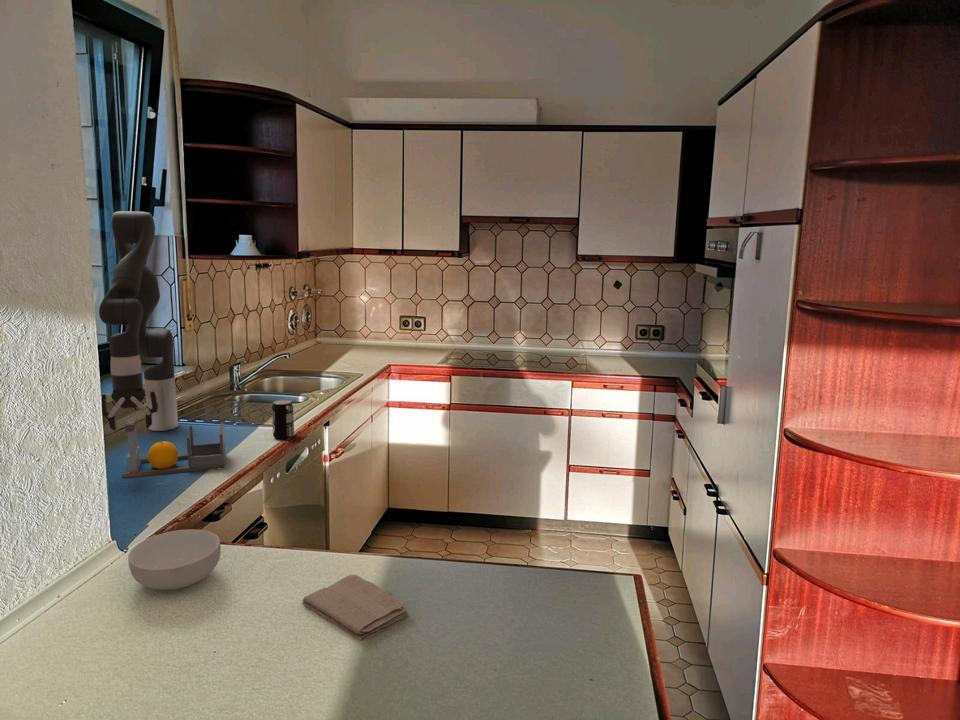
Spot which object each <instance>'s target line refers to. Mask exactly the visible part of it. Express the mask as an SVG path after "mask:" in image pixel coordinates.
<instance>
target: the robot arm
mask: <svg viewBox="0 0 960 720" xmlns="http://www.w3.org/2000/svg"><path fill="white" fill-rule="evenodd" d="M110 221H111V223H110V224H111V225H110V226H111V230H112V231H111V232H112V235H113V239H114V242H115V245H116V250H117V252H118V256H119V259H120V261H118V263H117V264H116V266H115V268H114V270H113V275H112V280H111V285H110V287H109V289H108V291H107V292H106V295H104V297H103V299H102V300H101V303H100V304H99V307H98V315H99V319H100V320H101V322H102V323H103V324H105V325H109V326H126V325H128V327H127V329H126V331H122V332H118V333H114V334H112V335H110V336H109V350H110V352H109V353H110V374H111V385H112V393H106V392H102V393H101V394H102V408H103V416H102V417H107V419H108V423H109V425H108V426H109V428H110V429H111V430H112V432H113V431H114V432H115V431H117V419H116V417H117V416H116V415H115V414H116V413H117V412H118V410H119V409H120V408H122V409H129V408H131V409H136V408H139V409H140V410H141V411H142V412H143V413H144V414H145V426H146V429H148V430H150V431H154V432H160V431H161V432H162V431H169V430H173V429H176V428H178V427H179V419H178V405H177V390H176V380H175V379H176V378H175V364H174V363H175V362H174V338H173V333H172V331H171V330H170V329H167V328H166V329H164V328H163V329H148V328H146V327H147V323H148V320H149V318H150V317H151V315H152V313H153V312H154V310H155V309H156V307H157V305H158V304H159V301H160V297H161V294H160V293H161V292H160V287H159V286H160V285H159V281H158V278H157V275H156V273H154V272H153V270H152V269H151V267H149V266H148V265H147V264H146V263H147V260H148V256H149V254H150V252H151V249H152V246H153V242H154V239H155V236H156V235H155V234H156V225H155V220H154V216H153V215H152V214H151V213H150V212H146V211H130V210H129V211H128V210H127V211H125V210H124V211H122V210H121V211H115V212H113V214H112V216H111V219H110ZM132 244H135V245H134V247H133V246H132ZM141 358H146V359H149V358H151V359H154V358H162V361H160V362H159V363H157V364H156V365H153V366H150V367H147V368H146V369H145V370H144V372H143V369H142V361H141ZM144 388H145V389H144ZM144 398H145V401H144ZM111 399H112V400H113V401H114V403H115V405H114V406H113V408H111V410H108V402H109V401H110V400H111Z"/></svg>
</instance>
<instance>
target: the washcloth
mask: <svg viewBox="0 0 960 720" xmlns="http://www.w3.org/2000/svg"><path fill="white" fill-rule="evenodd" d="M301 604H302V605H303V606H304V607H305V608H307V609H309V610H311V611H312V612H313V613H315V614H317V615H319V616H320V617H322V619H325V620H326V621H328V622H330V623H332V624H333V625H335V626H336V627H337V628H338V629H339V628H340V629H341V630H343V631H344V632H346V633H347V634H348V635H350V636H352V637H353V638H354V639H356V640H358V641H359V642H361V641H362V640H363V639H365V638H370V637H372V636H374V635H377V634H378V633H380V632H383V631H384V630H386V629H387V628H389V627H391V626H393V625H395V624H397V623H399V622H400V621H402V620H404V619H406V618H407V617H408V616H409V612H407V609H406V608H405V607H404V605H405V603H404V602H403V601H401V599H399V598H397V597H395V595H393V593H392V592H391V591H390V590H387V589H384V588H382V587H380V586H379V585H376V584H375V583H374V582H371V581H369V580H367V579H364V578H363V577H360V576H359V575H357V574H349V575H346V576H344V577H342V578H341V579H339V580H337V581H335V583H333V584H331V585H329V586H327V587H323V588H320V589H317V590H316V591H313V592H312V593H310V594H308V595H306V596H304V597H303V599H302V603H301Z"/></svg>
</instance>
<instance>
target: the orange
mask: <svg viewBox="0 0 960 720" xmlns="http://www.w3.org/2000/svg"><path fill="white" fill-rule="evenodd" d="M178 456H179V452H178V449H177V447H176V446H175V444H174V443H172V442H170V441H164V440H163V441H159V442H155V443H154V444H152V446H150V448H149V450H148V453H147V458H148V461H149V462H148V464H149V465H151V467H153V468H154V469H156V470H162V469H170V468H171V467H173V466H174V465H175V464H177V461H178V460H177V459H178Z"/></svg>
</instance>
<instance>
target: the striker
mask: <svg viewBox="0 0 960 720" xmlns="http://www.w3.org/2000/svg"><path fill="white" fill-rule="evenodd" d="M137 425H138V419H137V418H136V417H134V418H132V417H130V418H128V419H127V421H126V423H125V424H124V428H125V429H124V430H125V432H126V433H127V441H128V453H127V456H126V459H127V460H126V461H127V468H128V469H127V473H128V472H139V469H140V466H141V464H142V463H141V459H142V457H141V448H140V445H139V446H138V439H137V438H138V437H137V430H136V429H137V428H136V427H137Z"/></svg>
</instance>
